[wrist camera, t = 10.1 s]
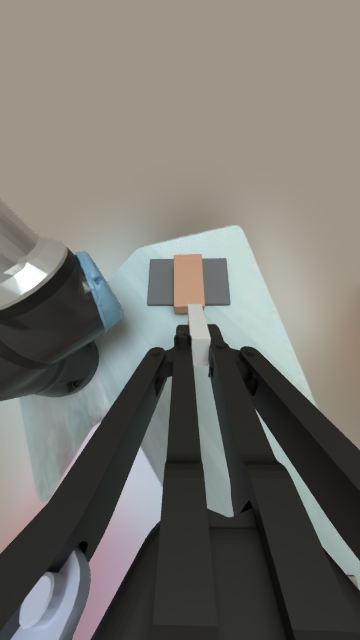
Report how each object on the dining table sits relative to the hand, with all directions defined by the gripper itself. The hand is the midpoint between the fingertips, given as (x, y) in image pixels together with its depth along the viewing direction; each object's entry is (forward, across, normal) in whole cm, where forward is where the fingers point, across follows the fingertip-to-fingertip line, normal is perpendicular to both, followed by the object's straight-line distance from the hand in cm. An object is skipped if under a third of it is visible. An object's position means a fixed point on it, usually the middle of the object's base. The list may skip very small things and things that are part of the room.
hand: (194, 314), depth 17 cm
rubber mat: (+27, 0, -4) cm, 28 cm away
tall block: (+18, 0, -8) cm, 20 cm away
